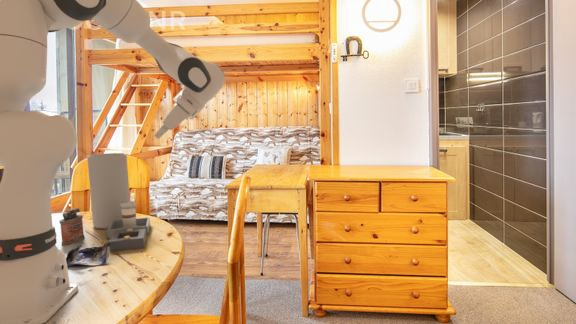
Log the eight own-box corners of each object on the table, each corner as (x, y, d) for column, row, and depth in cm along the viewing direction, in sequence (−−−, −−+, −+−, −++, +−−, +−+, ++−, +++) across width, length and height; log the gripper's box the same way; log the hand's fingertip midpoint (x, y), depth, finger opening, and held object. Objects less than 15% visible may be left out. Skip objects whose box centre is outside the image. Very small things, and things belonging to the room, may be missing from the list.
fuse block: (144, 248, 112) (143, 236, 111) (110, 251, 109) (109, 239, 109) (146, 238, 121) (145, 226, 121) (115, 241, 119) (114, 230, 118)
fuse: (136, 231, 127) (134, 203, 126) (121, 233, 125) (119, 204, 124) (138, 228, 131) (136, 200, 130) (123, 229, 130) (121, 201, 129)
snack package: (71, 277, 93) (117, 261, 102) (66, 251, 93) (113, 237, 102) (51, 274, 100) (96, 259, 110) (47, 250, 100) (92, 237, 109)
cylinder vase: (136, 224, 138) (131, 154, 135) (99, 231, 130) (93, 157, 127) (124, 218, 147) (119, 152, 145) (88, 224, 139) (82, 155, 136)
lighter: (68, 245, 116) (65, 213, 115) (58, 245, 116) (55, 212, 115) (87, 237, 124) (84, 206, 122) (78, 237, 124) (75, 206, 123)
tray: (148, 235, 124) (147, 226, 124) (107, 239, 121) (106, 230, 121) (150, 225, 136) (149, 217, 135) (113, 229, 132) (112, 220, 132)
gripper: (178, 100, 135) (150, 129, 133) (179, 96, 115) (147, 130, 114) (192, 112, 136) (164, 141, 135) (195, 111, 117) (163, 145, 115)
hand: (156, 136), depth 124 cm, fingers open, 8 cm apart
